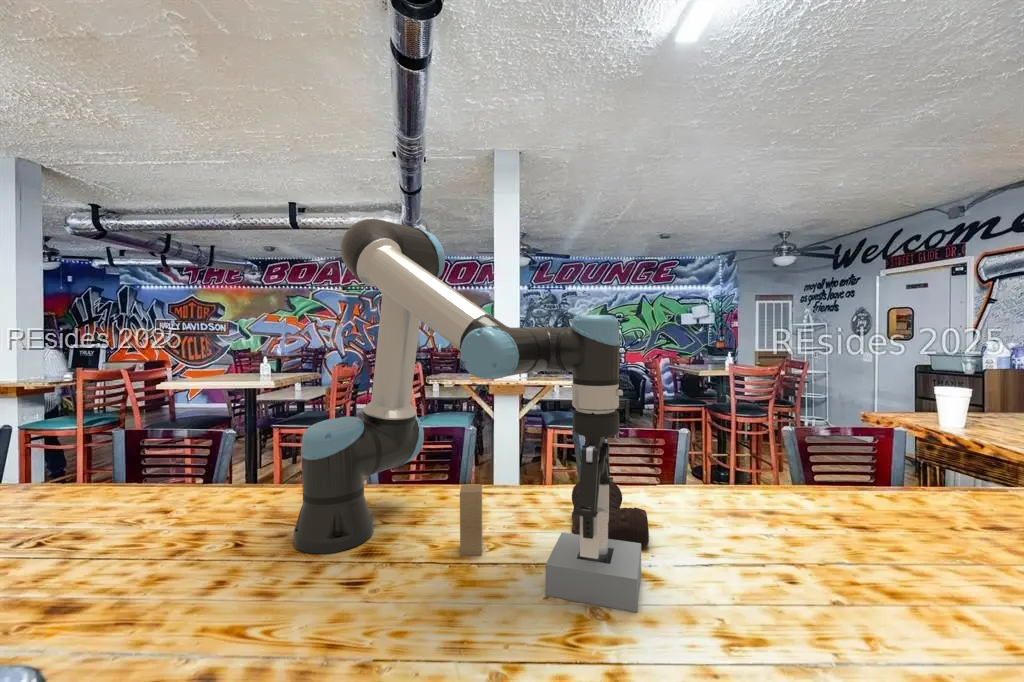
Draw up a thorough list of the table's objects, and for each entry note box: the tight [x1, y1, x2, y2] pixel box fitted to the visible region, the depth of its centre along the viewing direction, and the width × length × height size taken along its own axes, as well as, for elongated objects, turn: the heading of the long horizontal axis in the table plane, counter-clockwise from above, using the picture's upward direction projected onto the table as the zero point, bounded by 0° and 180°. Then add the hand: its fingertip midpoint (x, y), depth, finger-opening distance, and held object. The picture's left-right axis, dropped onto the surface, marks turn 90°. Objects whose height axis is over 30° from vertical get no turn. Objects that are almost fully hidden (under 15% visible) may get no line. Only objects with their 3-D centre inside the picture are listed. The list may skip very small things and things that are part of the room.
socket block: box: [545, 532, 642, 613], centre depth 77 cm, size 14×12×5 cm
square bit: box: [459, 484, 484, 557], centre depth 88 cm, size 4×4×12 cm
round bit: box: [583, 507, 608, 564], centre depth 76 cm, size 4×4×12 cm
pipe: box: [571, 481, 650, 546], centre depth 96 cm, size 10×15×15 cm
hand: (595, 537), depth 76 cm, fingers open, 13 cm apart
